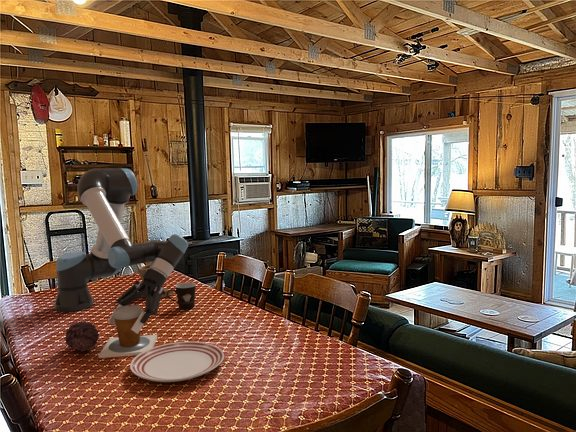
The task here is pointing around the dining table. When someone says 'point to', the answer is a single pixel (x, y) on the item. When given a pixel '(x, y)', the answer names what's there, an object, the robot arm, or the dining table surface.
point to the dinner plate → (176, 361)
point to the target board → (116, 350)
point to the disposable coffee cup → (127, 324)
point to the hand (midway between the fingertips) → (122, 327)
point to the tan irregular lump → (141, 273)
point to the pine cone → (82, 336)
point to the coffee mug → (185, 295)
